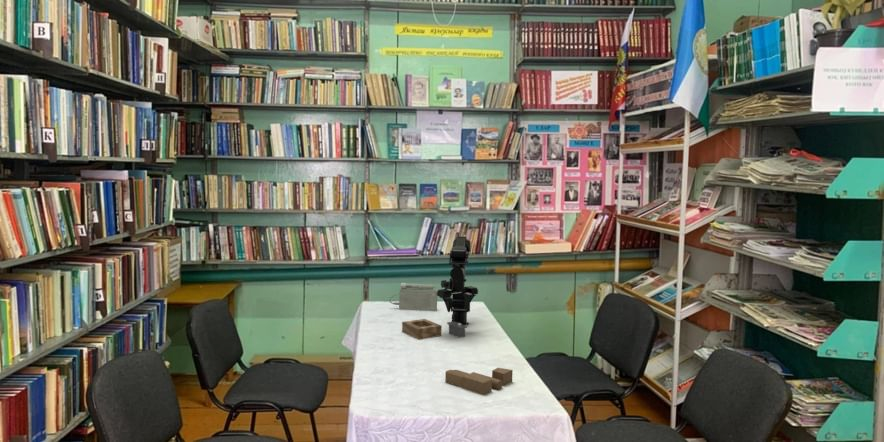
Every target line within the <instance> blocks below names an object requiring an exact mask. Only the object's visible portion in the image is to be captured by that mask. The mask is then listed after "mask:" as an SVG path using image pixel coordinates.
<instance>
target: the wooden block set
mask: <svg viewBox="0 0 884 442" xmlns="http://www.w3.org/2000/svg"><path fill="white" fill-rule="evenodd" d="M491 372H492V373H491V374H492V375H491V376H488V375H485V374H481V373H478V372H474V371H473V372H471V373H470V372H465V371H462V370H459V369H448V370H446V371H445V375H444V376H445V383H447V384H450V385H452V386H457V387H460V388H462V389H464V390H467V391H469V392H470V391H471V392H473V393H476V394H480V395H483V396H484V395H486V394H489V393H491V392H492V389H495V390H501V389H502V388H503V387H504V386H506V385H509V384H510V382H511V383H512V382H513V369H509V368H503V367H497V368H495V369H493V370H492V371H491ZM508 383H509V384H508Z"/></svg>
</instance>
